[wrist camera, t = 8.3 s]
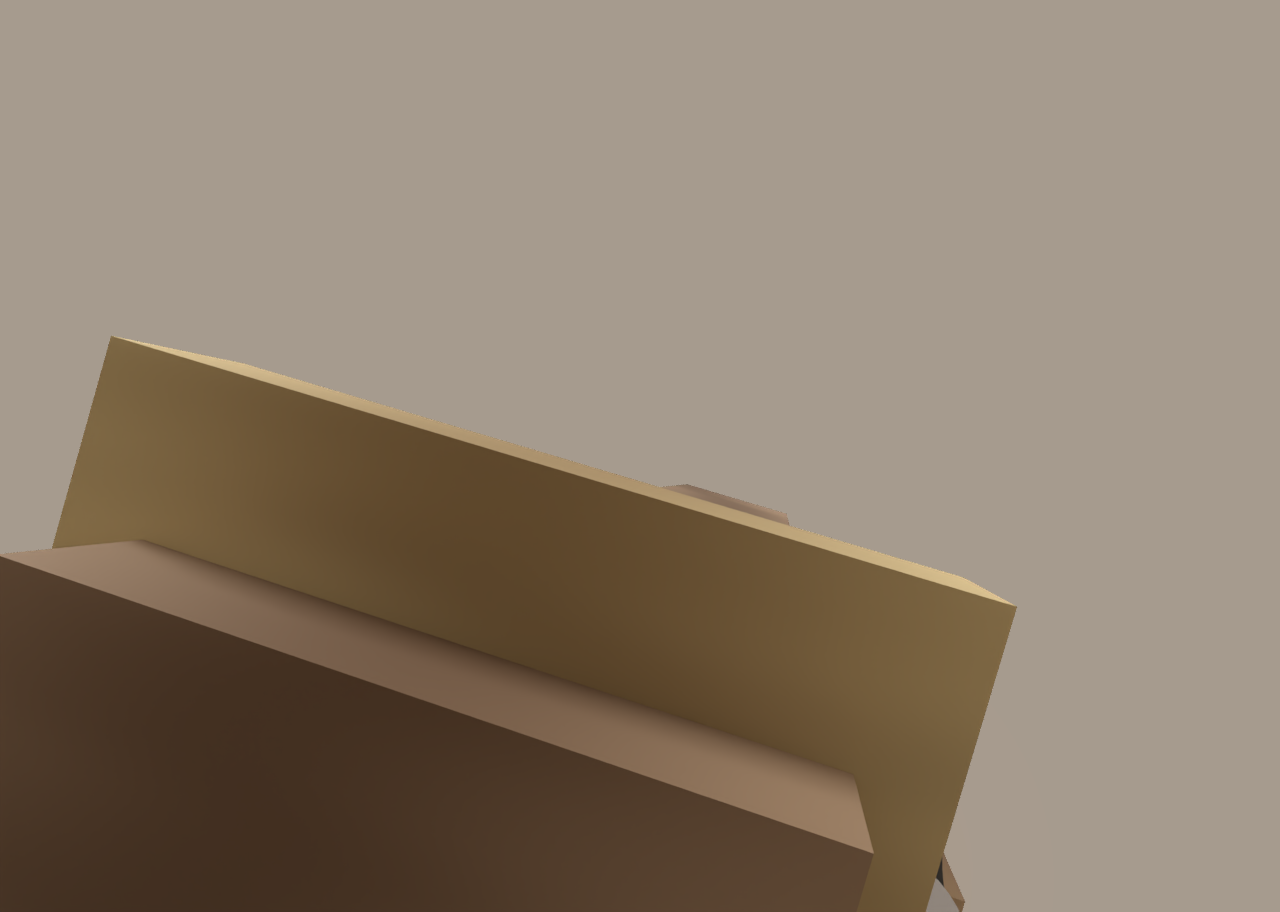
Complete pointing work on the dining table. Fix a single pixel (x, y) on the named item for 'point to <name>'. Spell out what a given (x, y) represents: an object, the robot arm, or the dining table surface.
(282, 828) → the walnut bar
